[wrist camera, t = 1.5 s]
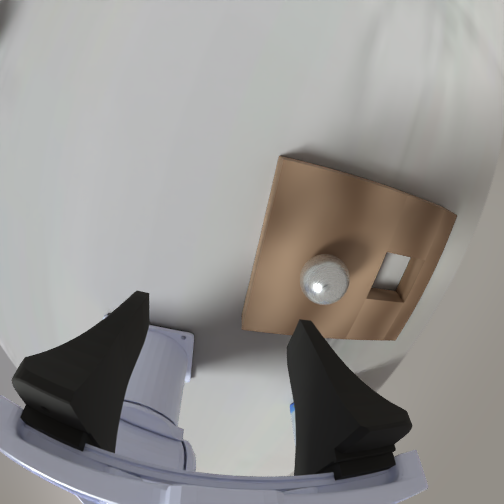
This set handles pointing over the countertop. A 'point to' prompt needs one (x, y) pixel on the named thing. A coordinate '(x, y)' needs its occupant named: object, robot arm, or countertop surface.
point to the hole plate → (341, 252)
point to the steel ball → (324, 279)
